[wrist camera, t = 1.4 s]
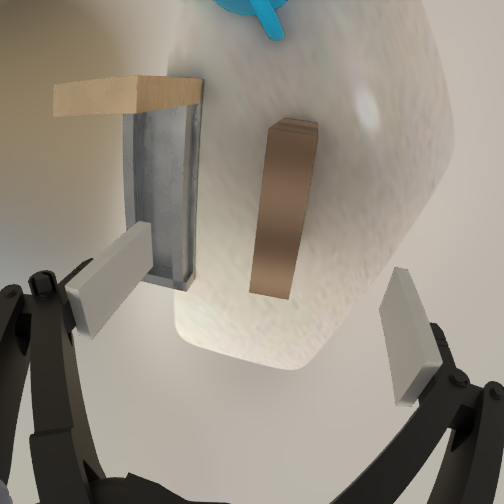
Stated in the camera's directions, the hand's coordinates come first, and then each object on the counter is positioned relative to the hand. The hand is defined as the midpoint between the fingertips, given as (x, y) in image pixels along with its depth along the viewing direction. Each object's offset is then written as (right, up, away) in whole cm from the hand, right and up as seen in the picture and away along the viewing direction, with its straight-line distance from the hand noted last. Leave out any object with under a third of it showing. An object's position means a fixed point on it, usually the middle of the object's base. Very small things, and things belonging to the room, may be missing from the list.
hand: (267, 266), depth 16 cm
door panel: (+3, +7, +13) cm, 15 cm away
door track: (-10, +8, +16) cm, 20 cm away
